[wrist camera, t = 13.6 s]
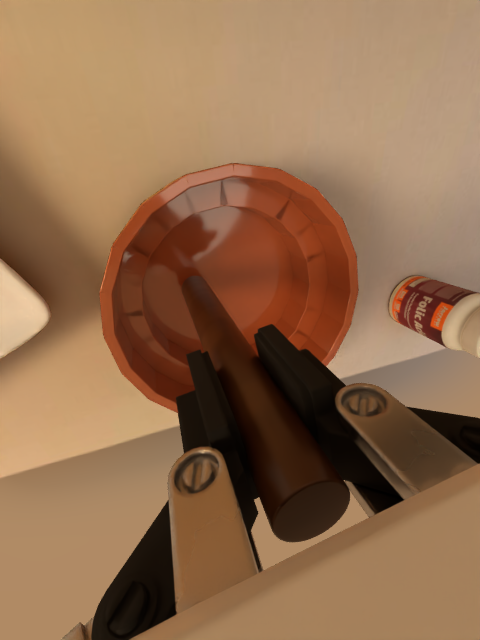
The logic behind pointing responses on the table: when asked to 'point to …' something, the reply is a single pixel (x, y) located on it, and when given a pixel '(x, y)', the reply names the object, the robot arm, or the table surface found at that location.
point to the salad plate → (19, 310)
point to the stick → (268, 428)
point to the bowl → (226, 271)
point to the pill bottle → (439, 312)
